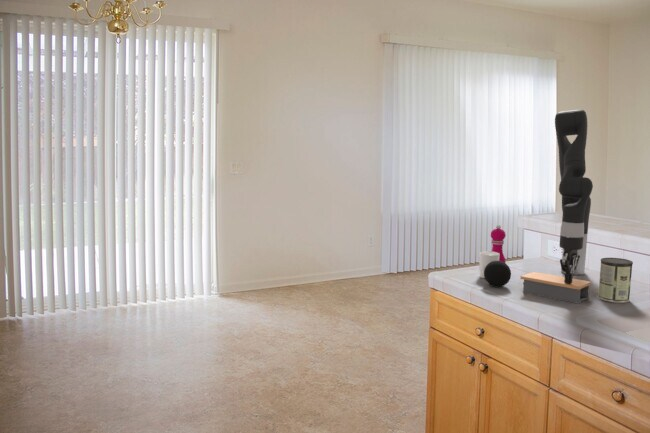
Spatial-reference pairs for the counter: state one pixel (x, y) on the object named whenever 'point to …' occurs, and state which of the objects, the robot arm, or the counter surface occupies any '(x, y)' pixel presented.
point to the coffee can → (615, 280)
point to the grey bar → (582, 293)
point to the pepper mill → (498, 241)
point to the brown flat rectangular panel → (555, 280)
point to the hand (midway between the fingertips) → (568, 283)
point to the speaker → (497, 273)
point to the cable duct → (554, 291)
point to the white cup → (487, 260)
